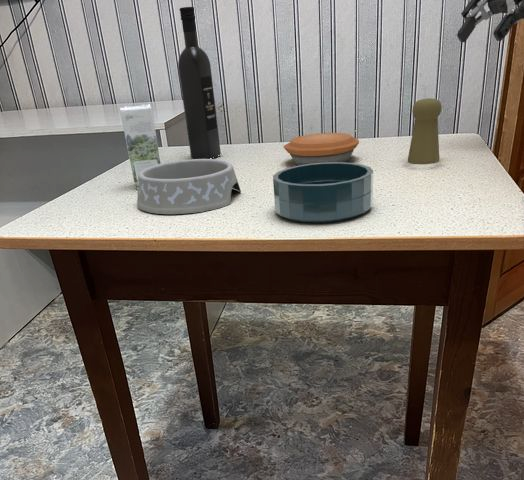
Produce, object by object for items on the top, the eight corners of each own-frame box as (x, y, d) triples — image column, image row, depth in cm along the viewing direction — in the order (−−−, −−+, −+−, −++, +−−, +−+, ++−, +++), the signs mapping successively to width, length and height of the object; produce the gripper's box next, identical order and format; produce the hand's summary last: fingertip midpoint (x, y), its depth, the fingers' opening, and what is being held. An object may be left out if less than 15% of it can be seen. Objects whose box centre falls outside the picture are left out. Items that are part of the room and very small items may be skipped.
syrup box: (163, 180, 109) (150, 102, 102) (165, 186, 104) (151, 105, 97) (135, 184, 108) (119, 105, 101) (135, 190, 103) (119, 108, 96)
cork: (434, 164, 102) (439, 100, 96) (403, 163, 104) (406, 101, 99) (443, 157, 106) (448, 96, 100) (413, 156, 109) (416, 97, 103)
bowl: (346, 192, 89) (345, 158, 87) (390, 213, 77) (391, 174, 75) (263, 206, 86) (260, 171, 83) (295, 231, 74) (293, 191, 71)
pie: (369, 153, 115) (369, 128, 112) (344, 170, 103) (343, 143, 101) (303, 153, 122) (301, 129, 119) (272, 168, 110) (270, 143, 107)
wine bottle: (223, 155, 127) (205, 5, 112) (209, 160, 123) (189, 6, 108) (203, 155, 130) (184, 8, 115) (189, 160, 126) (167, 9, 110)
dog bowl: (249, 184, 100) (246, 154, 97) (223, 214, 84) (218, 179, 82) (163, 187, 103) (158, 158, 101) (123, 216, 88) (116, 183, 85)
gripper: (490, -51, 101) (440, 25, 103) (559, -65, 90) (501, 20, 92) (506, -18, 106) (457, 54, 107) (573, -28, 95) (518, 52, 96)
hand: (477, 38), depth 100 cm, fingers open, 8 cm apart
